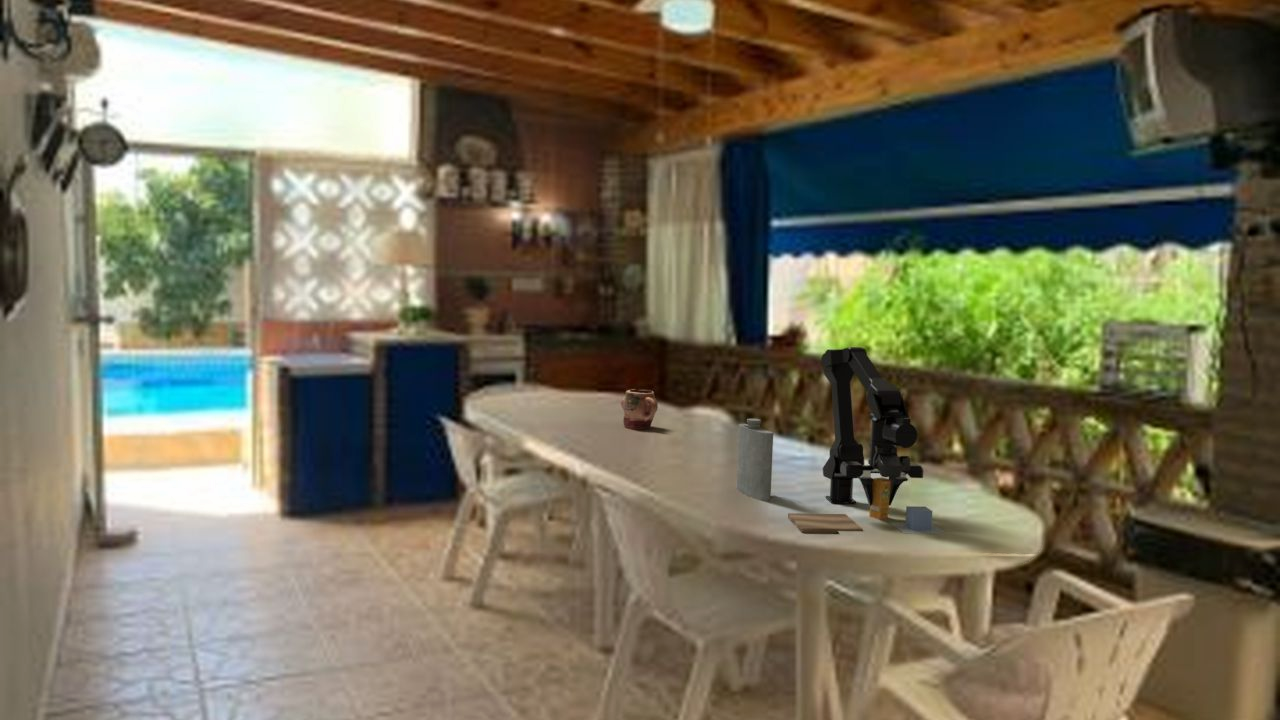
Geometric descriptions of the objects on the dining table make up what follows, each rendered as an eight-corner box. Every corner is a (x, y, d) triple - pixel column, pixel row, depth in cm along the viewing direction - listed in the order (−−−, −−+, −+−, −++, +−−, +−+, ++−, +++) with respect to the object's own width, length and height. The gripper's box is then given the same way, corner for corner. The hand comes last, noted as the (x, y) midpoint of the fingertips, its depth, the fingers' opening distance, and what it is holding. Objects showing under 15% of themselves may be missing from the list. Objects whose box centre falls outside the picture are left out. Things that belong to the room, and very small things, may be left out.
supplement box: (879, 521, 239) (881, 480, 239) (868, 518, 242) (870, 477, 241) (889, 520, 241) (891, 479, 240) (878, 517, 244) (880, 476, 243)
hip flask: (772, 500, 259) (776, 423, 257) (758, 501, 257) (761, 423, 256) (745, 487, 274) (748, 414, 272) (731, 488, 272) (734, 414, 270)
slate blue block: (905, 525, 234) (906, 506, 234) (924, 525, 235) (925, 506, 234) (912, 530, 230) (913, 510, 229) (931, 530, 230) (932, 511, 230)
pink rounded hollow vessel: (669, 430, 367) (671, 393, 365) (642, 433, 359) (643, 394, 358) (637, 423, 383) (638, 386, 381) (610, 425, 375) (611, 388, 374)
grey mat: (889, 524, 237) (890, 522, 237) (931, 525, 238) (931, 522, 238) (904, 535, 227) (904, 533, 227) (947, 536, 228) (947, 533, 228)
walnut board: (787, 517, 241) (788, 513, 241) (845, 518, 242) (845, 513, 242) (801, 532, 227) (801, 528, 227) (862, 533, 228) (862, 528, 228)
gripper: (854, 445, 231) (851, 512, 233) (933, 447, 233) (929, 513, 234) (841, 437, 242) (838, 501, 244) (916, 439, 244) (913, 502, 245)
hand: (879, 505), depth 241 cm, fingers closed on supplement box, 4 cm apart
